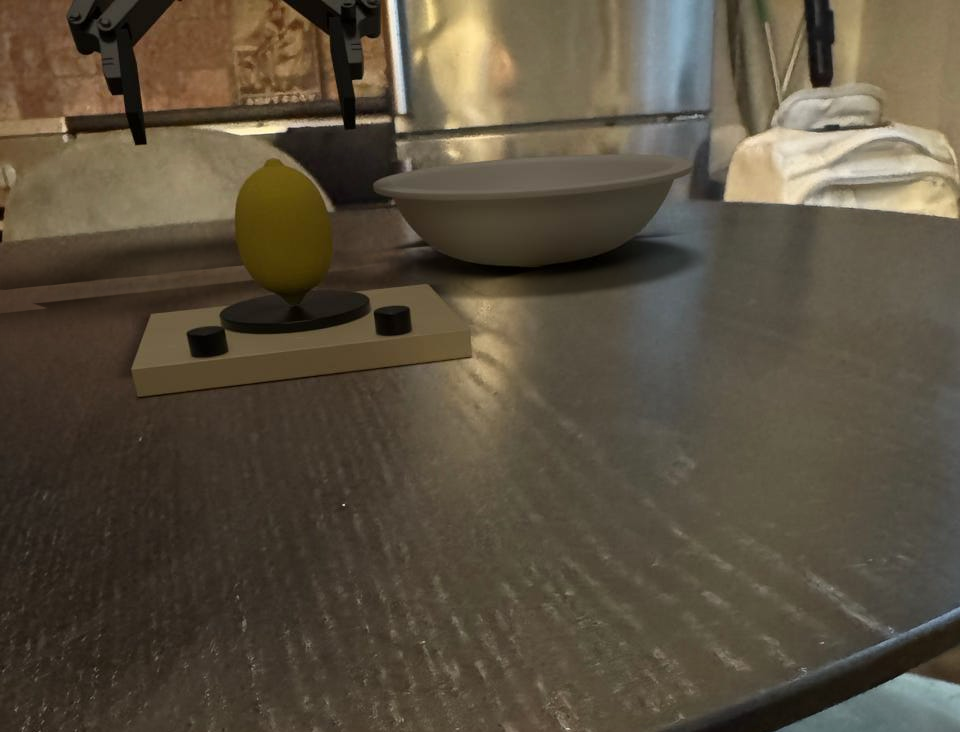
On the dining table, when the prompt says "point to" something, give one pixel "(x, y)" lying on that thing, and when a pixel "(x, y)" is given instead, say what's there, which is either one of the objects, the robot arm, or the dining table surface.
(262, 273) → the lemon
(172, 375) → the cooktop
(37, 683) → the dining table surface
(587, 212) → the soup bowl
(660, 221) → the dining table surface
